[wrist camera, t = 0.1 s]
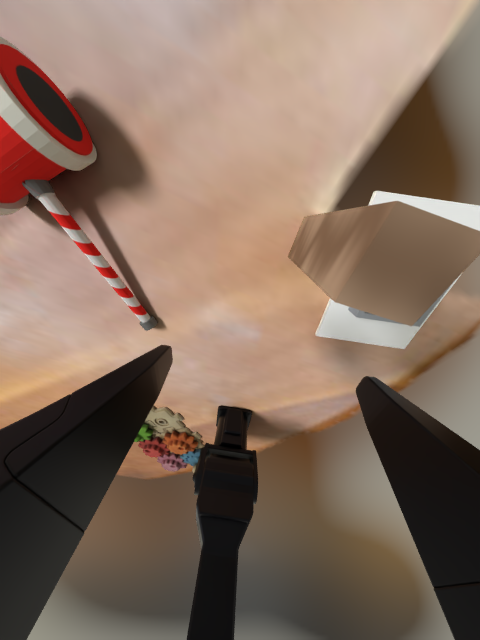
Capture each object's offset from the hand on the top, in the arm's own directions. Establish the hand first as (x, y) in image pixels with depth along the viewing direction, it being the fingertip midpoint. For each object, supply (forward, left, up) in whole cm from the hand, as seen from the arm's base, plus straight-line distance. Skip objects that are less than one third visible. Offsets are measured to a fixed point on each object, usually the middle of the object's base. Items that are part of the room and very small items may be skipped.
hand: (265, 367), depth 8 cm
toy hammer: (+4, +20, -15) cm, 25 cm away
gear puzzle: (-37, +16, -15) cm, 43 cm away
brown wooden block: (+5, -5, -15) cm, 16 cm away
